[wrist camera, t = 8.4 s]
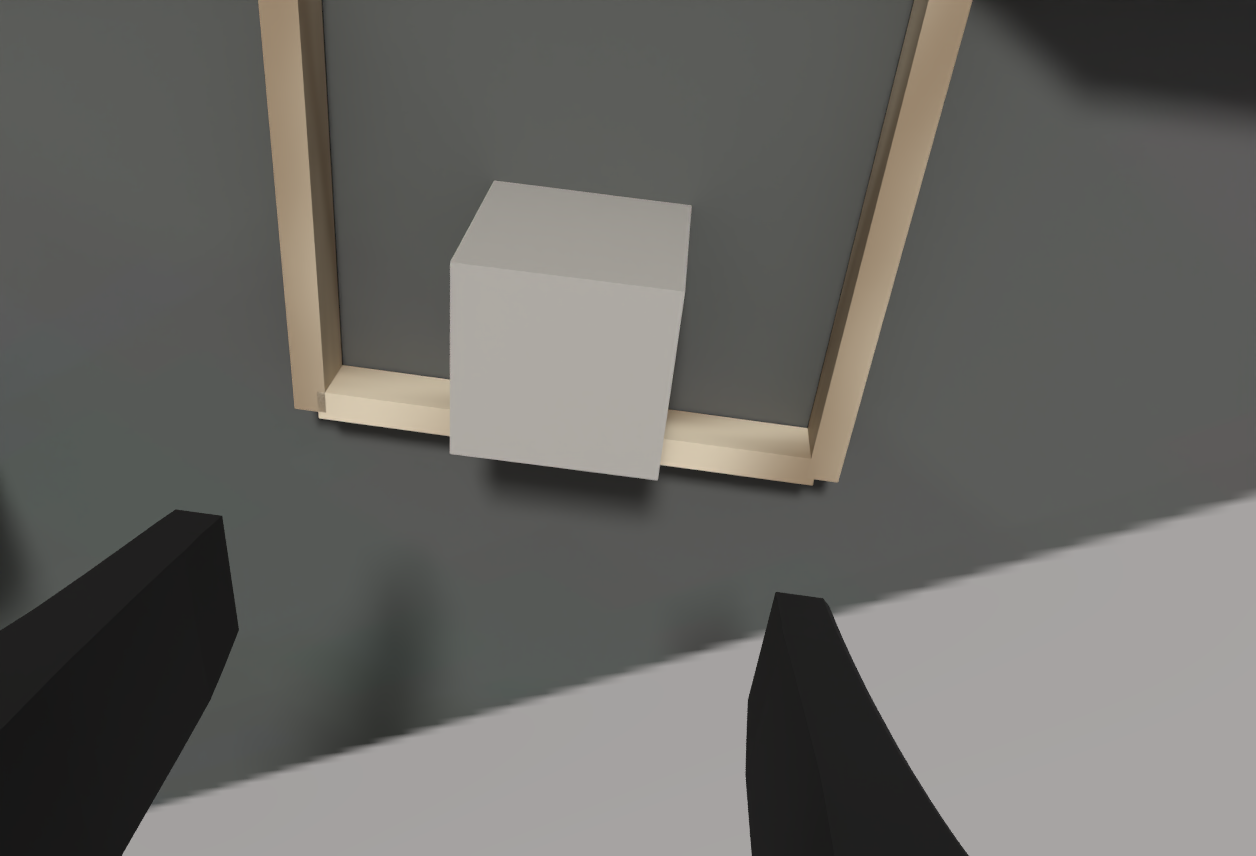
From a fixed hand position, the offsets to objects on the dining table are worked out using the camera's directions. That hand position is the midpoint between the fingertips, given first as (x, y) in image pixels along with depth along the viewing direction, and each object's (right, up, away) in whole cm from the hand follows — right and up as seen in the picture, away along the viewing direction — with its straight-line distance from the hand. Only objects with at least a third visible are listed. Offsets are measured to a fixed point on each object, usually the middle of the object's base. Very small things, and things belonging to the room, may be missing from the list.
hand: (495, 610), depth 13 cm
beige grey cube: (+1, +6, +8) cm, 10 cm away
